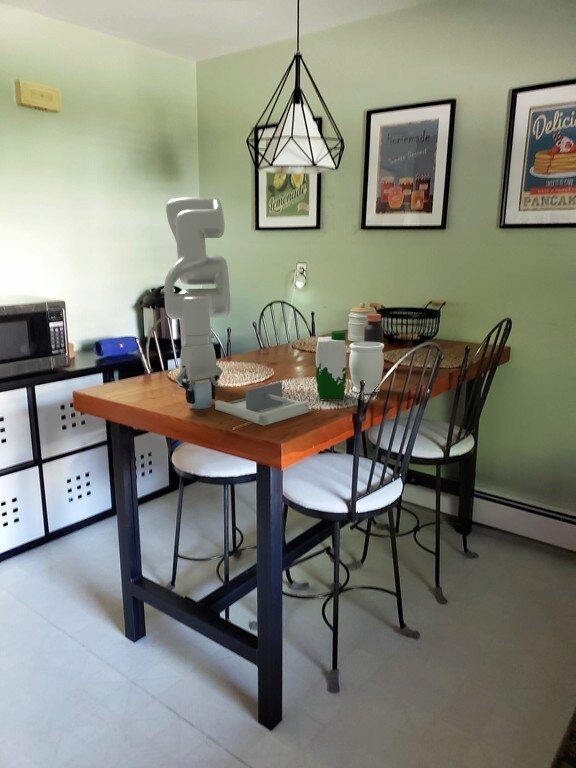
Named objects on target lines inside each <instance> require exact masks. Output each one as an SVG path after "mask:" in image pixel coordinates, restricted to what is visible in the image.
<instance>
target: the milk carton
mask: <svg viewBox="0 0 576 768" xmlns="http://www.w3.org/2000/svg"><path fill="white" fill-rule="evenodd" d="M346 339H347V338H346V331H344V330H333V331H331V336H319V337H317V344H316V351H315V380H316V387H317V392H318V397H319V400H320V399H345V398H344V397H345V391H346V383H347V347H346V346H347V345H346V343H347V340H346Z"/></svg>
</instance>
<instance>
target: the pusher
mask: <svg viewBox="0 0 576 768" xmlns="http://www.w3.org/2000/svg"><path fill="white" fill-rule="evenodd" d="M283 397H284V396H283V382H282V381H276V382H273V383H268V384H264V385H260V386H255V387H252V388H247V389H245V398H246V409H248V410H251V411H254V412H257V411H261V410H264V409H268V408H271V407H275V406H279V405H282V404H283V402H284V403H286V402H287V399H286V398H287V397H285V398H283Z"/></svg>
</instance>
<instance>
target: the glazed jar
mask: <svg viewBox="0 0 576 768" xmlns="http://www.w3.org/2000/svg"><path fill="white" fill-rule="evenodd" d="M192 390H194V397H195V403H194V404H190V403H189V406H190V408H191V409H196V410H201V409H202V410H203V409H208V408H211V407H212V406H213V399H212V389H211V381H210V378H206V379H201V380H196V381H195V382H194V385H193V388H192Z"/></svg>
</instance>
